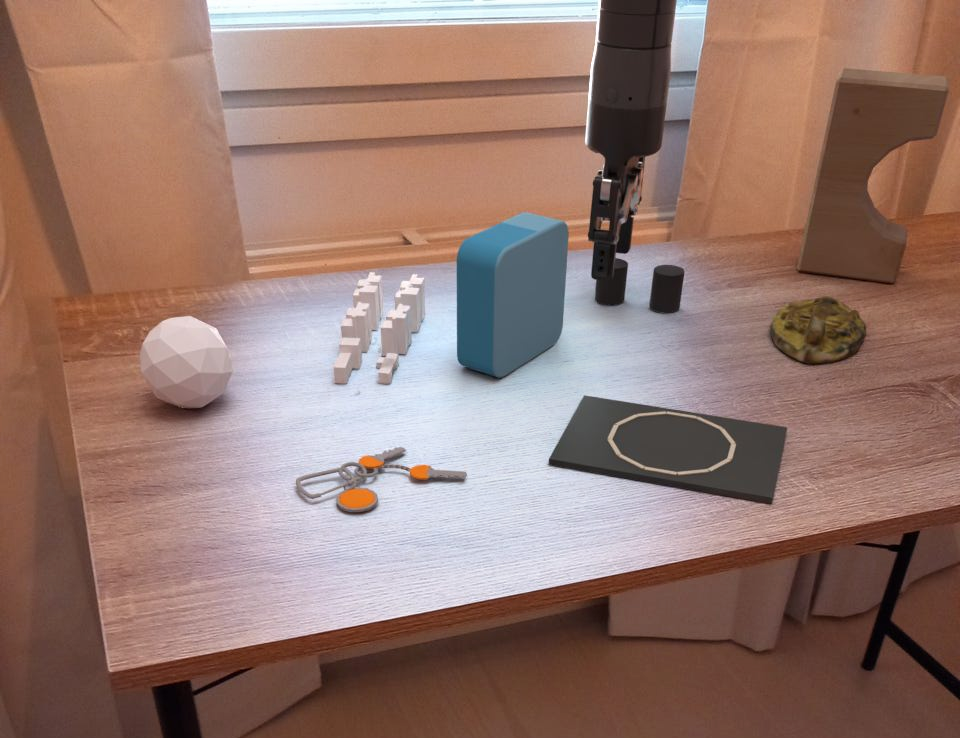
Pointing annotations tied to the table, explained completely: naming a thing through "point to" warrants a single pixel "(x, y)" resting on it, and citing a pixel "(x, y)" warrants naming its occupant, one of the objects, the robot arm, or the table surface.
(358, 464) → the key chain
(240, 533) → the table surface
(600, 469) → the slate board
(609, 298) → the eye peg
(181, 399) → the geometric ball
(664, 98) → the robot arm
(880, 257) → the decorative block
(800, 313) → the olive lumpy oval slab
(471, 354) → the blue rounded slab
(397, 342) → the modular blocks
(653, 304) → the eye peg
